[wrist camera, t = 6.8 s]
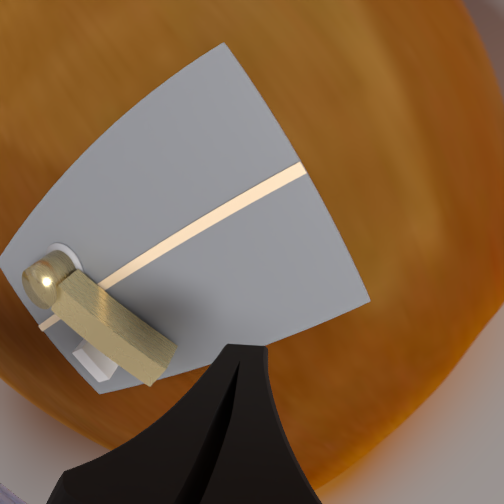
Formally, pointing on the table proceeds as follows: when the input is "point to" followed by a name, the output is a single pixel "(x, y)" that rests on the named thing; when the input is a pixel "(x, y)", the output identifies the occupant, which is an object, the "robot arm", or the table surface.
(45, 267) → the bar
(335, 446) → the table surface
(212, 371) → the robot arm
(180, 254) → the lock board
